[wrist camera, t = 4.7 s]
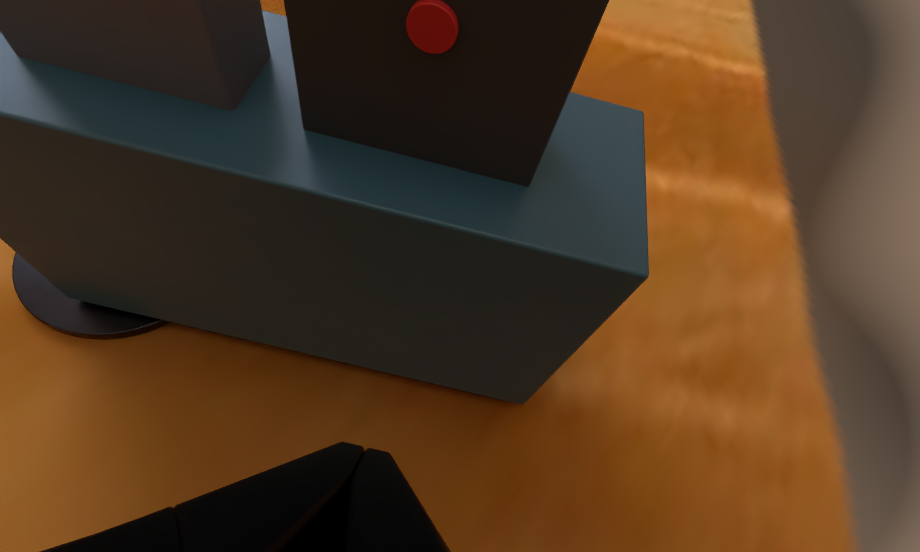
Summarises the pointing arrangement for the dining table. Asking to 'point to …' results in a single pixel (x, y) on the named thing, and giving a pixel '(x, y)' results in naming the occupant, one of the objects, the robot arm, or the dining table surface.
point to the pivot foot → (74, 309)
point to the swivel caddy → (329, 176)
